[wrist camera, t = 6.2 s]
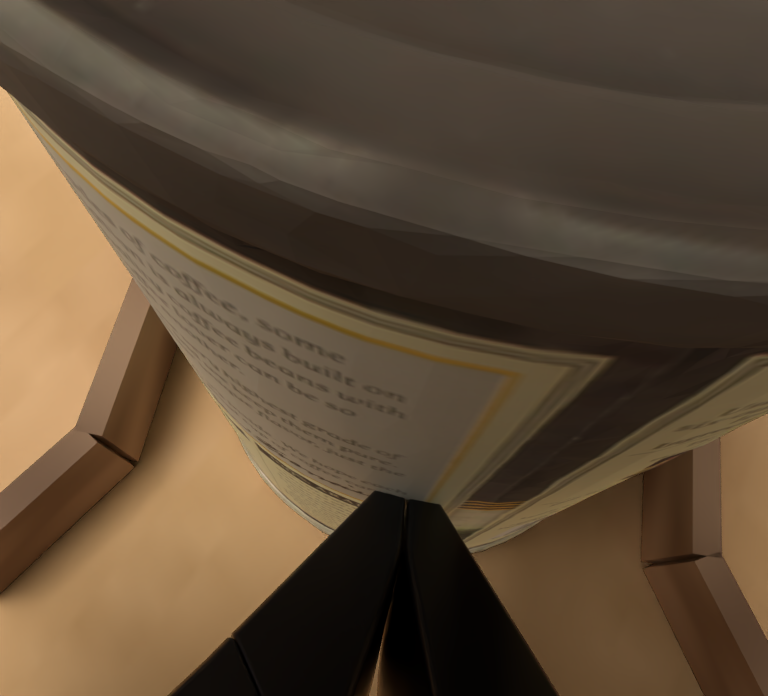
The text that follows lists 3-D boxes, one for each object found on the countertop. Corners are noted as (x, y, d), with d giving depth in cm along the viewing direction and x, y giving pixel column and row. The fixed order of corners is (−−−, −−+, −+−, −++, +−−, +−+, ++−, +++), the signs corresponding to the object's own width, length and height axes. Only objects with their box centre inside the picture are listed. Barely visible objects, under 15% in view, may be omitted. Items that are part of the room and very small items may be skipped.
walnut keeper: (756, 758, 14) (838, 788, 12) (-31, 597, 14) (-104, 594, 12) (739, 210, 19) (792, 156, 17) (169, 104, 20) (145, 37, 18)
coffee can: (355, 142, 20) (368, -772, 7) (665, 305, 18) (1483, -476, 5) (136, 418, 16) (-759, -387, 3) (498, 652, 15) (1816, 1029, 1)
